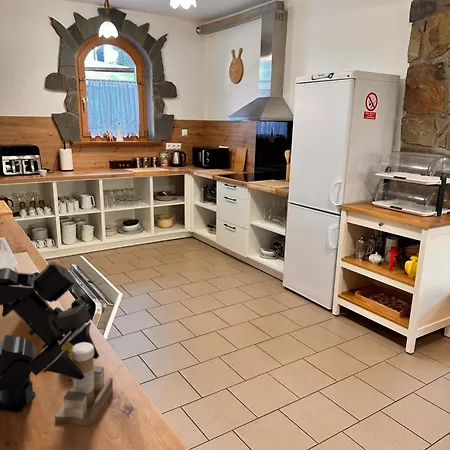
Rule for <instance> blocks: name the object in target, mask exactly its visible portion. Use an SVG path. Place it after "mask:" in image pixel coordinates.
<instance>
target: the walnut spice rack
mask: <svg viewBox="0 0 450 450" xmlns="http://www.w3.org/2000/svg"><path fill="white" fill-rule="evenodd" d="M104 369H105V368H104V366H98V365H94V396H95V399H94V401H93V402H92V403H91V404H90V405H87V397H86V393H82V392H74V390H72V391H71V390H67V392H66V393H65V394H64V395H63V404H62V405H61V406H60V408H59V409H58V411H57V412H56V414H55V415H54V421H55V422H61V423H69V424H76V425H83V426H91V427H92V426H93V424H94V423H95V421H96V419H97V417H98V416H99V414H100V412H101V410H102V409H103V407H104V405H105V403H106V402H107V400H108V399H109V397H110V395H111V394H112V392H113V391H114V386H113V385H114V384H113V383H114V380H113V379H114V378H113V377H108V379H107V381H106V382H105V371H104Z"/></svg>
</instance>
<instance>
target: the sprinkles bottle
mask: <svg viewBox="0 0 450 450" xmlns="http://www.w3.org/2000/svg"><path fill="white" fill-rule="evenodd" d="M94 346H95V345H94ZM94 346H93V345H92V344H90V343H86V342H83V343H78V344H76V345H75V346H73V347H72V359H73V363H74V364H75V365H76V366H77V367H78V368H79V369H80V371H81V372H82V373H83V375H84V376H85V377H84V378H83V379H82V380H79V379H76V378H73V377H72V386H73V390H74V392H82V393H86V397H87V405H90V404H91V403H92V402H93V401H94V399H95V396H94V366H95V365H94V358H93V356H94ZM73 390H72V391H73Z"/></svg>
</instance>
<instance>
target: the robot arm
mask: <svg viewBox="0 0 450 450" xmlns="http://www.w3.org/2000/svg"><path fill="white" fill-rule="evenodd" d="M76 284H77V280H76V278H75V276H74V275H73V274H72V273H71V271H69V270H68V268H66V267H63V266H62V265H60V264H56V262H54V261H51V262H49V264H48V265H46V267H45V268H44V269H43V270H42V271H41V272H39V274H37V275H36V274H35V273H26V272H18V271H17V272H16V271H15V270H14V269H12V268H8V267H2V268H0V306H2V313H1V316H2V317H6V316H8V315H9V314H10V313H12V312H13V313H14V314H16V316H17V317H18V318H19V319H21V321H23V323H24V324H25V325H26V326H28V327H29V329H30V330H29V331H28V334H29V335H30V336H31V337H32V336H33V335H36V336H38V337H39V339H40V340H41V341H42V342H43V343H44V344H43V345H41V347H42V348H43V349H42V350H41V351H40V352H38V353H37V347H36V345H35V344H34V342H33V341H32V340H30V339H28V338H26V337H25V336H24V335H22V336H13V335H9V334H5V335H3V340H2V341H0V411H5V412H13V413H20V412H22V411H23V410H24V408H25V407H26V406H27V405H28V404H29V402H30V401H31V400H32V399H33V398H34V397H35V396H36V391H34V389H33V388H34V387H33V381H32V380H31V374H33V375H34V376H38V375H39V374H40V373H44V374H45V373H47V372H50V373H55V374H60V375H62V376H67V377H70V378H72V379H73V378H76V379H79V380H82V379H83V378H84V377H85V376H84V375H83V373H82V372H81V371H80V369H79V368H78V367H77V366H76V365H75V364H74V363H73V361H72V360H71V359H70V358H69V353H68V348H67V349H66V350H65V351H64V352H63V351H62V346H63V344H64V343H65V342H66V341H67V340H68V339H69V338H70V337H71V338H72V339H71V340H70V341H69V343H71V344H72V345H74V346H75V345H76V344H78V343H83V342H86V343H90V344H92V345H93V346H94V356H93V360H97V359H98V358H99V357H100V354H99V353H98V349H97V348H96V346H95V343H94V342H93V338H92V337H91V334H90V329H91V325H92V322H90V321H91V320H92V319H93V317H94V316H93V315H92V314H91V313H90V312H89V311H88V310H89V309H90V305H89V304H87V303H86V301H85V300H83V299H82V298H81V297H80V298H77V299H74V300H73V301H72V302H71V304H70V306H71V307H68V308H67V309H66V310H63V309H62V308H60V307H58V306H56V307H55V308H52V306H51V305H50V304H48V303H47V302H49V303H52V302H57V301H58V300H59V299H60V298H61V297H62V296H64V295H65V294H66V293H67V292H68V291H70V290H71V288H73V287H74V286H75V285H76ZM63 334H64V336H63Z"/></svg>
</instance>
